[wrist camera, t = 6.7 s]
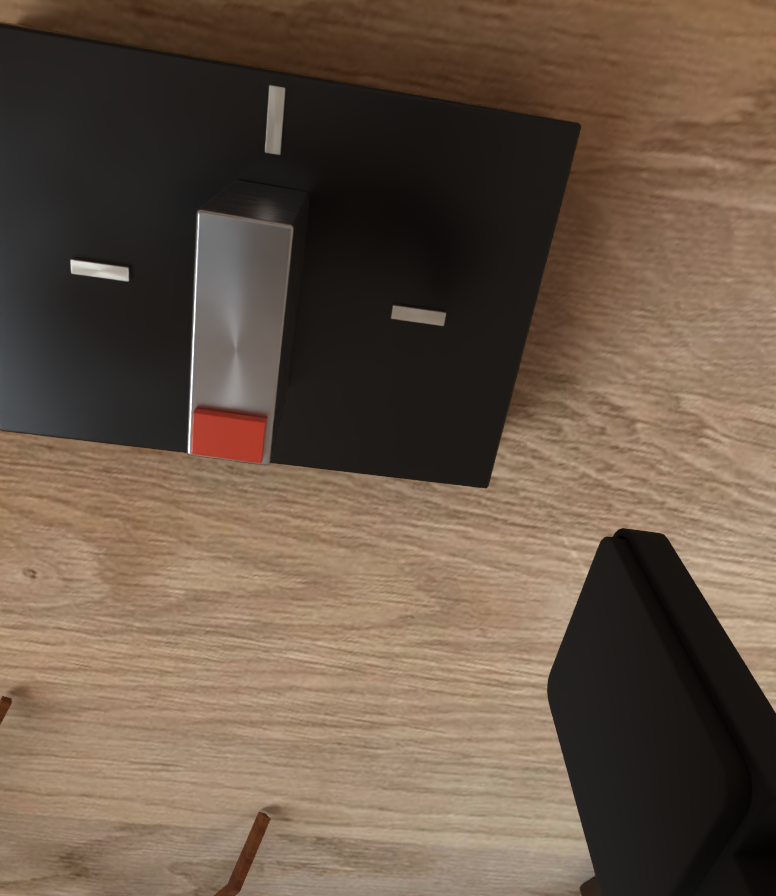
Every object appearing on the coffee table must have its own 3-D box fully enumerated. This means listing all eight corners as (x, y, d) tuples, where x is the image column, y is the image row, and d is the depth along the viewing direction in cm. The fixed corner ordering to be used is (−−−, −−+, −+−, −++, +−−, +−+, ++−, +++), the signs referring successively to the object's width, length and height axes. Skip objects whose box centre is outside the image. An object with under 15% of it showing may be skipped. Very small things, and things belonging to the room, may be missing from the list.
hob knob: (234, 178, 16) (192, 211, 12) (310, 192, 17) (293, 227, 13) (221, 381, 19) (183, 462, 15) (288, 391, 19) (268, 473, 15)
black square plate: (552, 117, 19) (585, 124, 16) (474, 443, 23) (489, 492, 21) (11, 23, 17) (-57, 13, 15) (42, 389, 22) (-5, 434, 19)
